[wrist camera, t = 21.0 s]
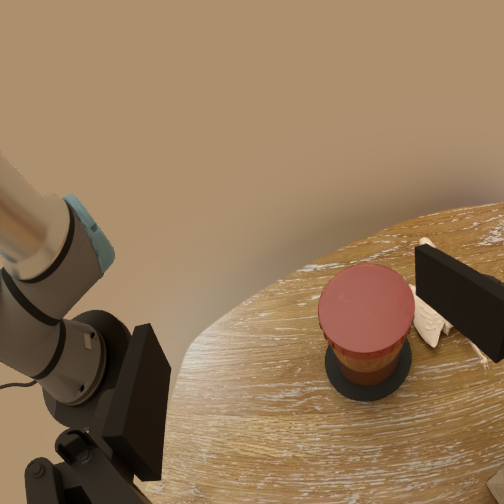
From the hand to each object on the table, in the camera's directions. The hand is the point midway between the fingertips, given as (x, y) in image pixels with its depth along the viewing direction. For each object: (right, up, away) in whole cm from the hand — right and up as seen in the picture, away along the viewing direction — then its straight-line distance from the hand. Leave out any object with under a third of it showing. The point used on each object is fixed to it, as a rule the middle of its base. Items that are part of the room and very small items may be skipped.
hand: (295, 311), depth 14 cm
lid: (+7, -2, +9) cm, 11 cm away
